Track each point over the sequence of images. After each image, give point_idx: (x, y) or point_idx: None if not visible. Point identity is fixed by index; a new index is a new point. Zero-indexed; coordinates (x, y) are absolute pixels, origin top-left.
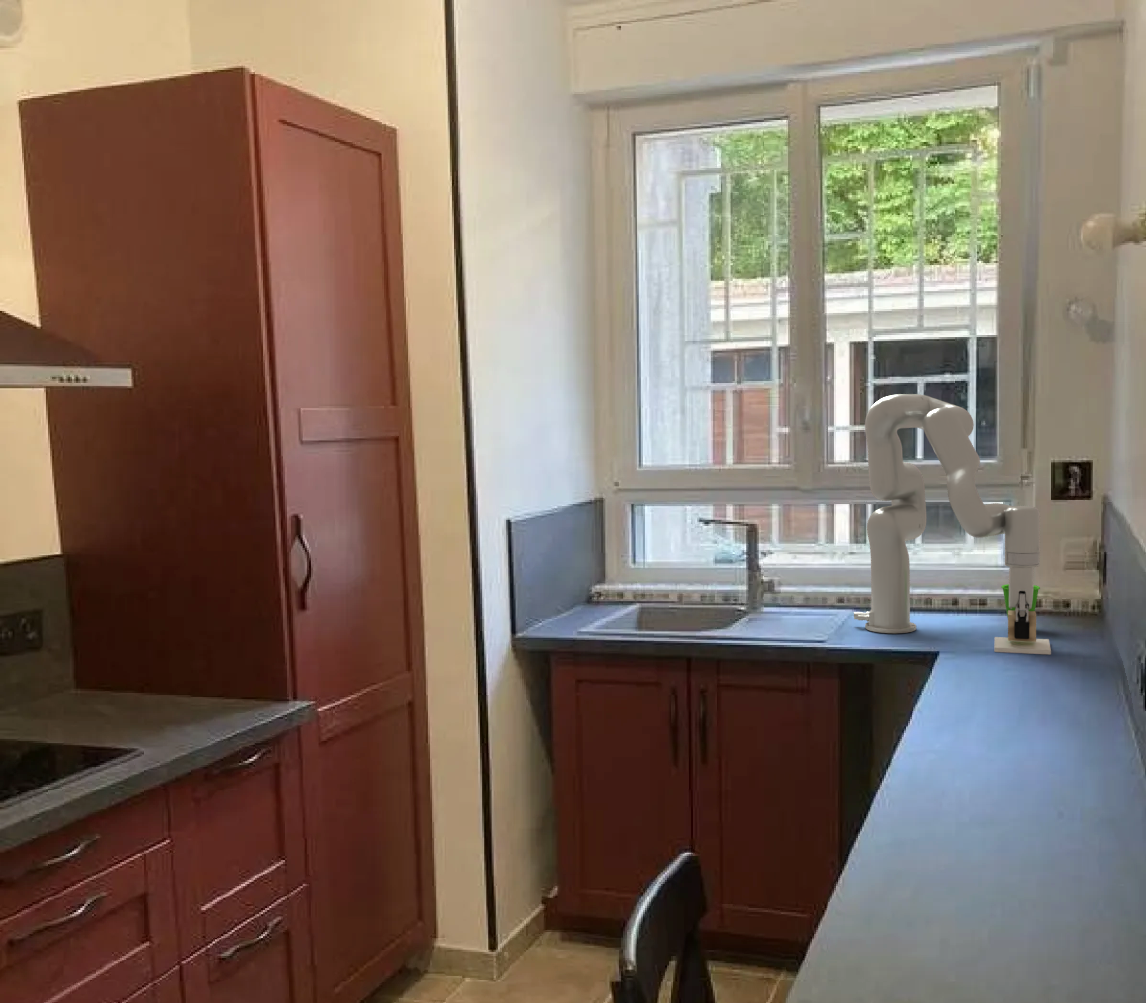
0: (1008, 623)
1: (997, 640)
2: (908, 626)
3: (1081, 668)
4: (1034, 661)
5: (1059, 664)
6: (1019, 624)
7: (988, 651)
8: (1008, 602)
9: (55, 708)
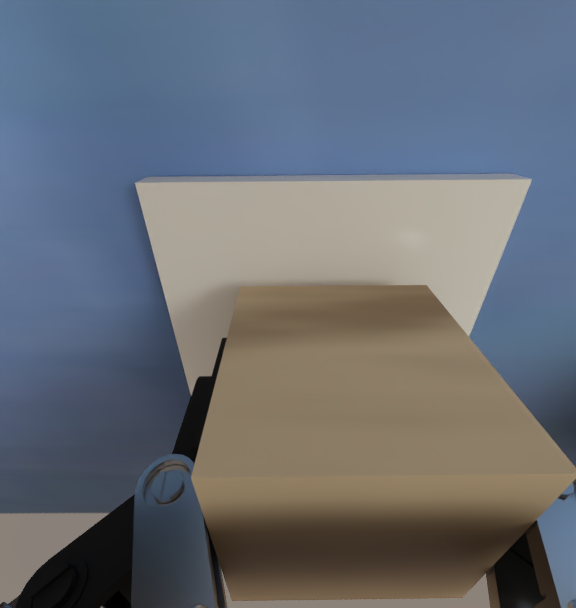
0: (218, 382)
1: (397, 202)
2: None
3: (28, 471)
4: (31, 365)
5: (42, 430)
6: (176, 453)
7: (147, 132)
8: None
9: None
